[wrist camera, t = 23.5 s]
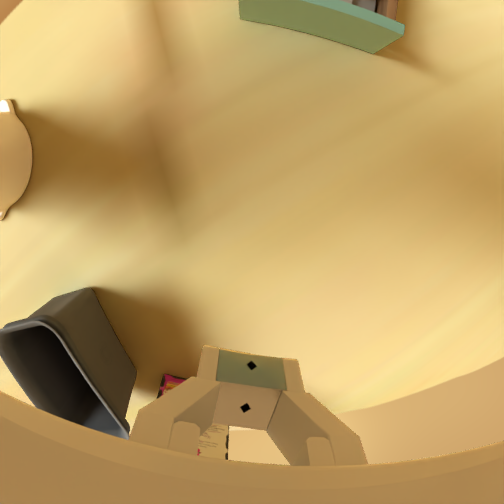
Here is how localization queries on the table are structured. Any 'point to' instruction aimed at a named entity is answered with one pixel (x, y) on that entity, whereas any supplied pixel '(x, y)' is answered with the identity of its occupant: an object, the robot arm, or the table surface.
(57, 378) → the storage bin
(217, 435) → the candy bar box
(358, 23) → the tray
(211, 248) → the table surface
